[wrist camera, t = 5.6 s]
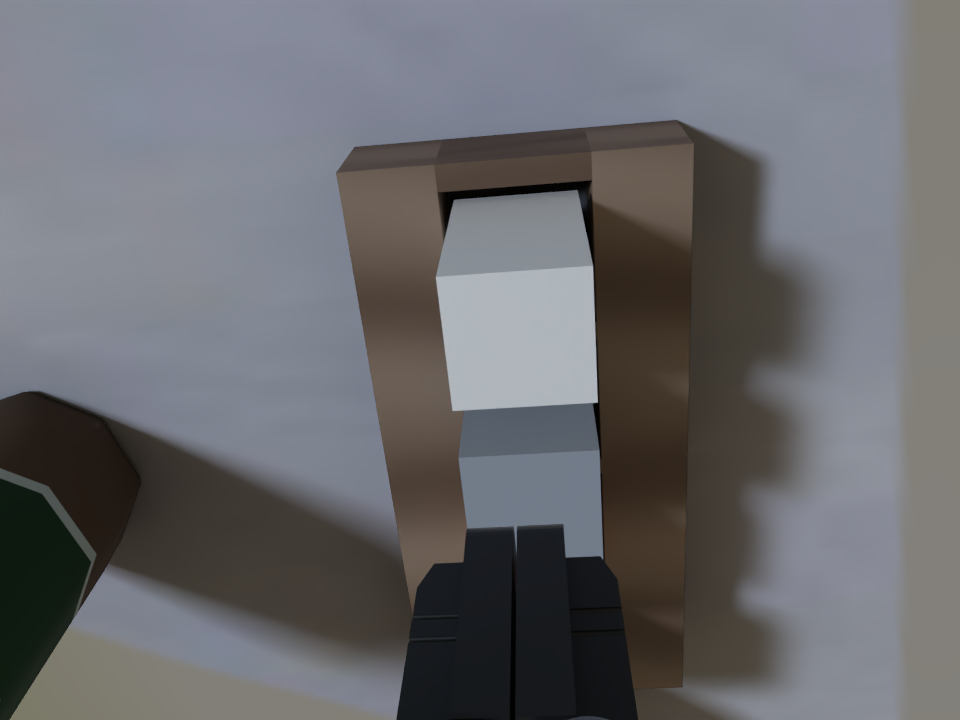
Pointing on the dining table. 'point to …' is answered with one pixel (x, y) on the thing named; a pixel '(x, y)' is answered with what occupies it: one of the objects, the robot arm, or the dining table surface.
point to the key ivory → (518, 302)
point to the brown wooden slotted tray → (618, 330)
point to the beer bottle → (52, 527)
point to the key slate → (534, 471)
